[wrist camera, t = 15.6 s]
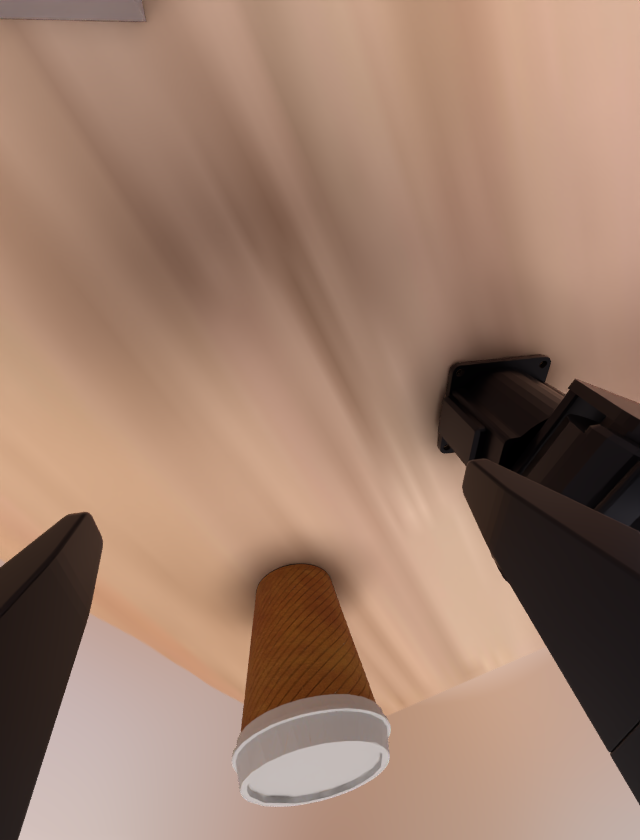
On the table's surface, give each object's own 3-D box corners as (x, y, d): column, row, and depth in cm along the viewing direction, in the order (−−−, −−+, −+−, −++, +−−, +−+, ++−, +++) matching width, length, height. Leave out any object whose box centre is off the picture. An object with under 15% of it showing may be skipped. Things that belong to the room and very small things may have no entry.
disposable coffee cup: (213, 580, 29) (195, 785, 19) (323, 532, 29) (366, 717, 18) (269, 635, 34) (279, 821, 24) (364, 595, 34) (416, 769, 23)
